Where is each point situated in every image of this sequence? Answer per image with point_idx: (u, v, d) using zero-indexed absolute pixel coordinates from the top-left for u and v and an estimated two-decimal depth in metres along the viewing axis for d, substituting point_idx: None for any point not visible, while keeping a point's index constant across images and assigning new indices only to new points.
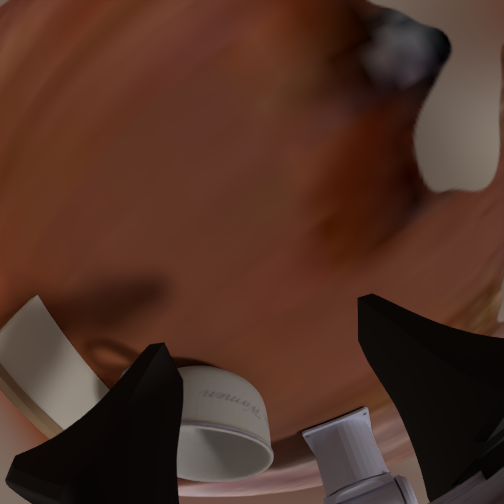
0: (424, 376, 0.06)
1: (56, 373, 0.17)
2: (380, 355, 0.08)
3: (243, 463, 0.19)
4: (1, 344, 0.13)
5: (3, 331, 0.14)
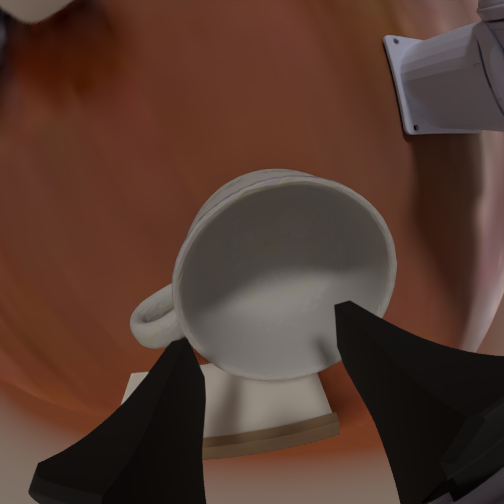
0: (394, 389, 0.06)
1: None
2: (355, 364, 0.08)
3: (370, 235, 0.13)
4: None
5: None
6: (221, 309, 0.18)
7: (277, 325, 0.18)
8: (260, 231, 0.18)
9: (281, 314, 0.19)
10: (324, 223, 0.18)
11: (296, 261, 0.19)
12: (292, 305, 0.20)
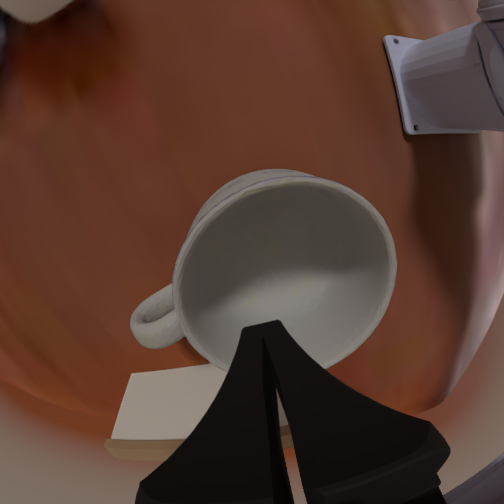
0: None
1: (184, 399, 0.19)
2: (277, 386, 0.08)
3: (370, 235, 0.13)
4: (120, 428, 0.17)
5: (117, 419, 0.18)
6: (221, 309, 0.18)
7: None
8: (260, 231, 0.18)
9: (281, 314, 0.19)
10: (324, 223, 0.18)
11: (296, 261, 0.19)
12: (292, 305, 0.20)
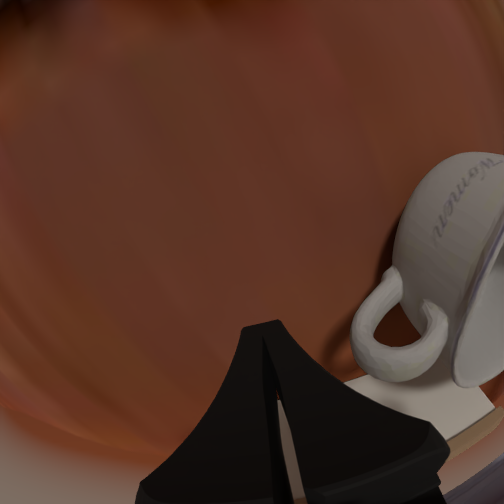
0: None
1: None
2: (277, 386, 0.08)
3: None
4: None
5: None
6: None
7: None
8: None
9: None
10: None
11: None
12: None
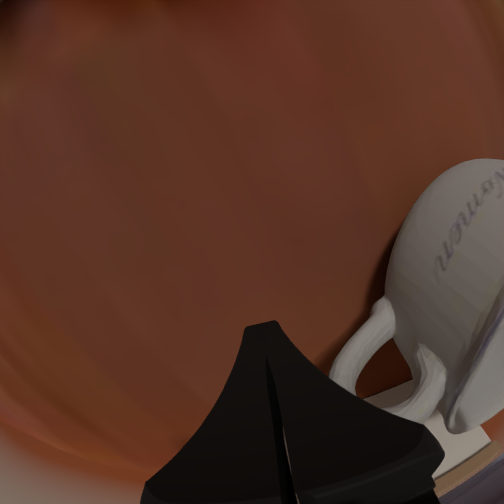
0: None
1: None
2: None
3: None
4: None
5: None
6: None
7: None
8: None
9: None
10: None
11: None
12: None
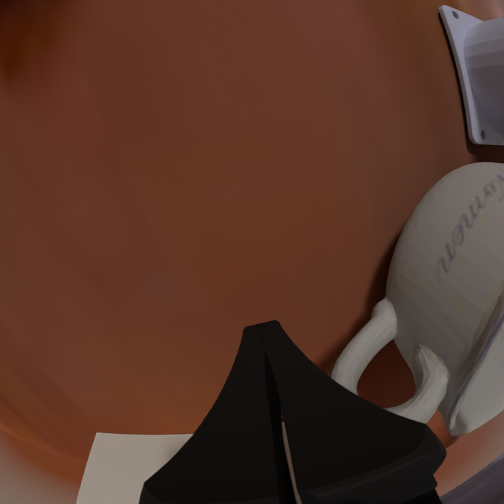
0: None
1: None
2: (274, 386, 0.08)
3: None
4: (83, 503, 0.10)
5: (80, 491, 0.10)
6: None
7: None
8: None
9: None
10: None
11: None
12: None
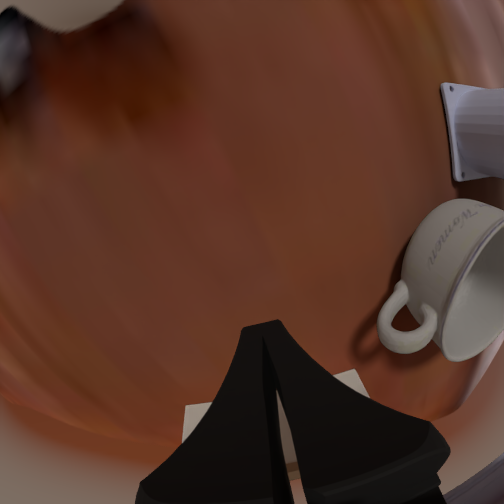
0: None
1: None
2: (277, 386, 0.08)
3: None
4: None
5: None
6: None
7: None
8: None
9: None
10: None
11: None
12: None
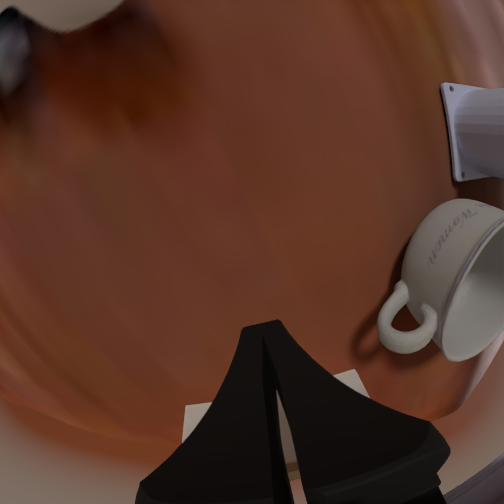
0: None
1: None
2: (277, 386, 0.08)
3: None
4: None
5: None
6: None
7: None
8: None
9: None
10: None
11: None
12: None
